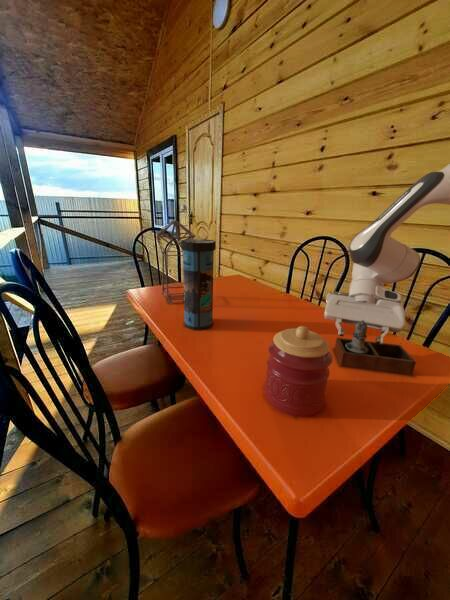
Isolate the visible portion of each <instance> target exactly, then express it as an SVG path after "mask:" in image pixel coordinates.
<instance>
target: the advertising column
mask: <svg viewBox="0 0 450 600" xmlns="http://www.w3.org/2000/svg"><path fill="white" fill-rule="evenodd" d="M180 242H181V244H180V245H181V247H180V249H181V251H183V252H182V255H183V256H182V268H183V270H182V271H183V273H182V274H183V287H184V288H183V293H184V297H183V312H184V313H183V314H184V326H185V327H186V328H187V329H189V330H192V331H204V330H207V329H210V328H211V327H213V320H214V319H213V317H214V315H213V314H214V310H213V309H214V264H215V263H214V259H215V258H214V255H215V252H214V251H216V250H217V249H216V248H217V247H216V245H217V242H216V240H213V239H206V238H205V239H204V238H194V239H187V238H184V239H181V240H180Z"/></svg>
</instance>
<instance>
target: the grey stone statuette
mask: <svg viewBox="0 0 450 600" xmlns="http://www.w3.org/2000/svg"><path fill="white" fill-rule="evenodd" d="M367 331H368V327H367V325H366V324H365V323H364V320H362V322H360V323H357V324H356V325H355V328H354V332H353V333H352V339H353V340H352V342H350V343H347V344H346V345H345V346H346V350H347V352H350V353H358V354H366V353H367V352H368V351H369V350H368V348H367V347H366V346H364V341H366V339H367V338H368V336H367Z"/></svg>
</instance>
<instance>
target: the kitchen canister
mask: <svg viewBox="0 0 450 600" xmlns="http://www.w3.org/2000/svg"><path fill="white" fill-rule="evenodd" d="M267 349H268V353H269V356H268V358H267V361H266V367H267V369H266V377H265V378H266V379H265V381H264V393H265V399H266V400H267V402H268V403H269V404H270V406H272V407H273V408H274V409H276V410H277V411H279V412H281V413H283V414H285V415H288V416H291V417H296V418H306V417H312V416H314V415H316V414H317V413H319V412H320V411H321V410H322V407H323V406H324V403H325V399H326V391H327V390H326V389H327V384H328V379H329V377H330V368H329V367H330V366H331V365H332V363H333V356H332V354H331V352H330V351H331V346H330V344H329V342H328V341H327V340H326V339H325V338H323V337H322V335H320V334H318V333H316V332H315V331H312V330H309V328H308V327H307V326H306V325H305V326H304V325H300V326H298V327H291V328H286V329H284V330H281V331H279V332H277V333H275V335H274V336H273V339H272V341H271V343H269V345H268V348H267Z"/></svg>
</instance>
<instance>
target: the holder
mask: <svg viewBox="0 0 450 600" xmlns="http://www.w3.org/2000/svg"><path fill="white" fill-rule="evenodd" d="M352 340H353V338H344V337H336V338H335V344H334V349H333V350H334V352H335V355H336V357H337V360H338V363H339V366H340V367H344V368H353V369H359V370H366V371H373V372H380V373H388V374H396V375H402V376H403V375H404V376H409V377H412V376H413V373H414V370H415V366H416V363H417V361H416V360H415V359H414V358H413V357H412V356H411V355H410V354H409V352H408V351H407V350H406V349H405V348H404V347H403V345H401V344H395V343H394V344H393V343H387V342H386V343H385V342H383V343H382V344H377V343H375V341H369V340H365V341H364V346H366V347H367V348H368V350H369V351H368V352H367V353H366V354H358V353H350V352H347V350H346V346H345V345H346V344H347V343H350V342H352Z"/></svg>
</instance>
